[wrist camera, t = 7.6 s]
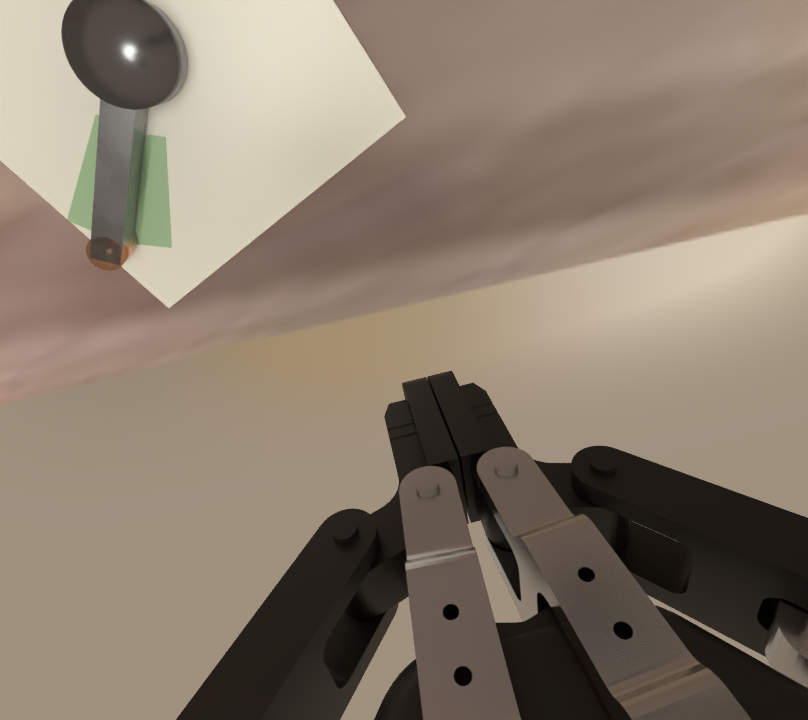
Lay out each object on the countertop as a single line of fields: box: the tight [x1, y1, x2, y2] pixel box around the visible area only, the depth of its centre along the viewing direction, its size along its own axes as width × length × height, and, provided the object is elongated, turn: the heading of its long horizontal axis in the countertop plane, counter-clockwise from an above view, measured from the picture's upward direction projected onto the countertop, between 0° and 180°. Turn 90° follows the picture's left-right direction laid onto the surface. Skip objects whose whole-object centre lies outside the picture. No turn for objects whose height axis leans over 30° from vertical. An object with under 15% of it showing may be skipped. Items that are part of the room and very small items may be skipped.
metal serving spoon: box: [61, 0, 188, 270], centre depth 27 cm, size 14×5×3 cm, turn 160°
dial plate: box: [0, 0, 406, 308], centre depth 27 cm, size 20×22×2 cm
